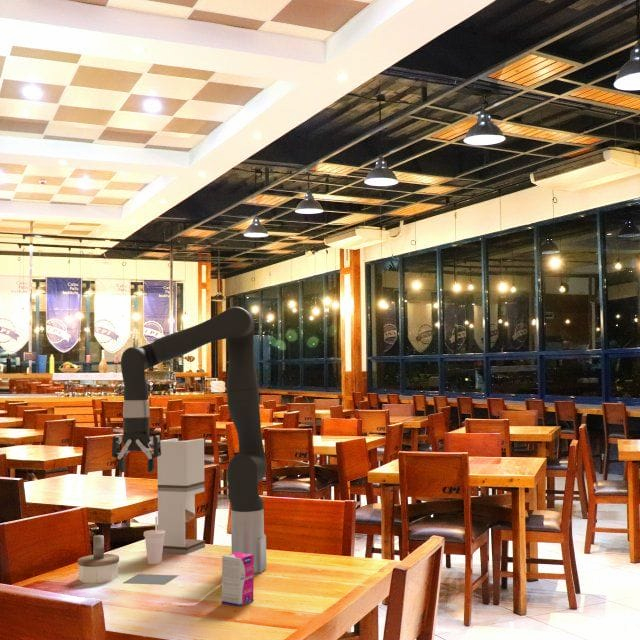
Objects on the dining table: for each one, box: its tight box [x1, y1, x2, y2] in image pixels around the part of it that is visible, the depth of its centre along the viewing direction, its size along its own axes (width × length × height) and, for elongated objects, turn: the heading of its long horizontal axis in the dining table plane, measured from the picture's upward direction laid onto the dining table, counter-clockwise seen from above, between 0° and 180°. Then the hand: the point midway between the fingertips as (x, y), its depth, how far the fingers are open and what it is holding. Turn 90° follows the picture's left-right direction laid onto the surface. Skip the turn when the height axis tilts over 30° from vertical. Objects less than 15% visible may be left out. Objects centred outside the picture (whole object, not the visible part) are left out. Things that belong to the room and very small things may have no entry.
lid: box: [77, 534, 120, 567], centre depth 228 cm, size 11×11×7 cm
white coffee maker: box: [156, 437, 206, 555], centre depth 268 cm, size 11×11×35 cm
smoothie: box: [143, 516, 165, 565], centre depth 246 cm, size 6×6×14 cm
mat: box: [122, 573, 179, 586], centre depth 225 cm, size 12×10×1 cm
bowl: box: [78, 562, 119, 584], centre depth 227 cm, size 10×10×5 cm
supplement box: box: [221, 552, 255, 607], centre depth 203 cm, size 6×6×12 cm
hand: (136, 472), depth 239 cm, fingers open, 8 cm apart
